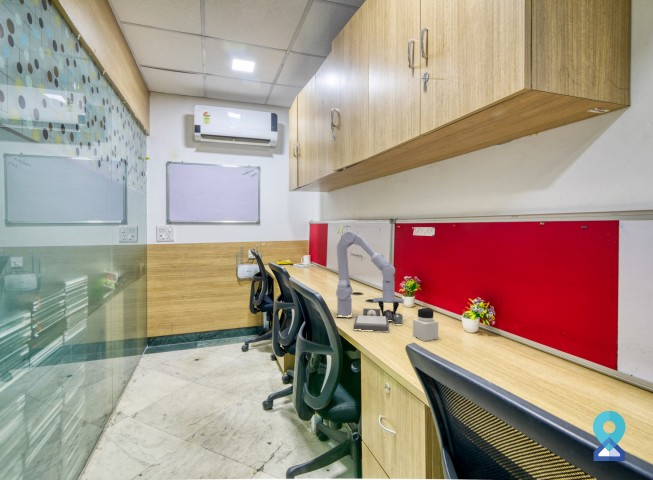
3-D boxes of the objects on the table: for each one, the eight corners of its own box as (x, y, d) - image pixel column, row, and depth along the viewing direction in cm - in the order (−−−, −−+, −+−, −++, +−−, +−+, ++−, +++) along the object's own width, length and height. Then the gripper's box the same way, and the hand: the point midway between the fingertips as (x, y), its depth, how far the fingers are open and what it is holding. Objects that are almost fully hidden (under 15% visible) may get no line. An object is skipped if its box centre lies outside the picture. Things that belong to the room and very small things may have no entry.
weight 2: (392, 322, 150) (392, 312, 150) (401, 323, 149) (402, 312, 149) (392, 325, 145) (393, 314, 145) (402, 325, 145) (402, 315, 145)
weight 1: (383, 318, 156) (383, 308, 156) (392, 319, 156) (392, 309, 156) (383, 321, 152) (383, 311, 152) (393, 321, 151) (393, 311, 151)
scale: (356, 320, 154) (356, 308, 154) (387, 321, 151) (387, 309, 151) (353, 330, 137) (353, 317, 137) (388, 332, 135) (388, 318, 135)
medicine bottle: (438, 339, 126) (438, 309, 126) (424, 341, 123) (425, 311, 123) (425, 334, 133) (426, 305, 132) (412, 336, 130) (412, 307, 129)
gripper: (373, 290, 151) (373, 318, 151) (404, 291, 148) (404, 320, 149) (373, 288, 158) (373, 315, 158) (403, 289, 155) (403, 316, 156)
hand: (388, 317), depth 154 cm, fingers closed on weight 1, 4 cm apart
